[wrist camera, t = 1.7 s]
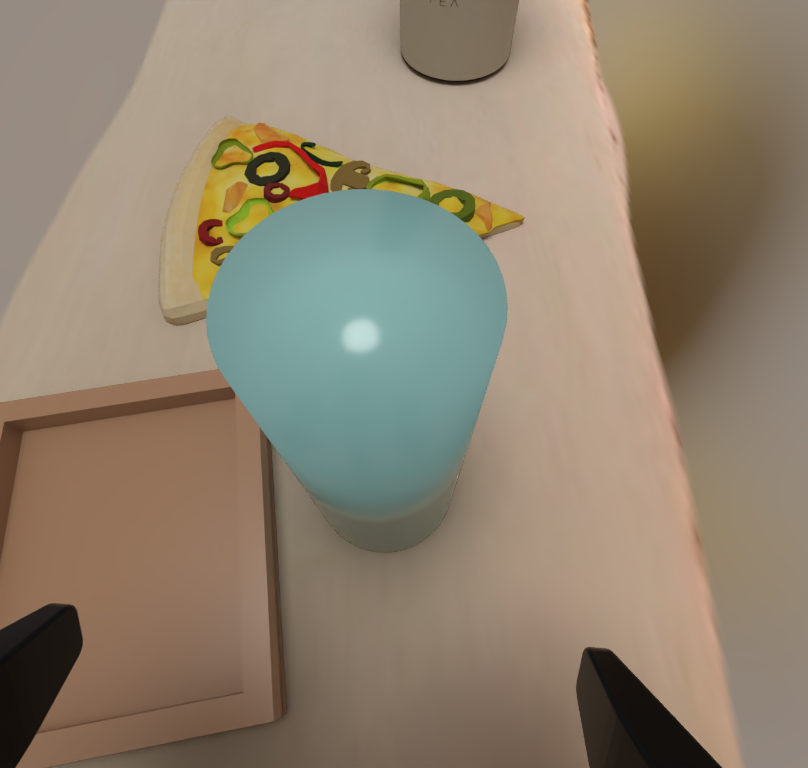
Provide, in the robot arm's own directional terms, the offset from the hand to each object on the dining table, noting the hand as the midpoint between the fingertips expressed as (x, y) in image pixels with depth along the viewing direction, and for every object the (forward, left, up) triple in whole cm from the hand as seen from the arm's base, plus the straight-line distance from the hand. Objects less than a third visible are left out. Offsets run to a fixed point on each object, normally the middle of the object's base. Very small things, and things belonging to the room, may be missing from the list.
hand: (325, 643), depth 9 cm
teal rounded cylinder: (+6, -2, -12) cm, 14 cm away
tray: (+5, +10, -12) cm, 16 cm away
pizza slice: (+22, -2, -13) cm, 26 cm away
